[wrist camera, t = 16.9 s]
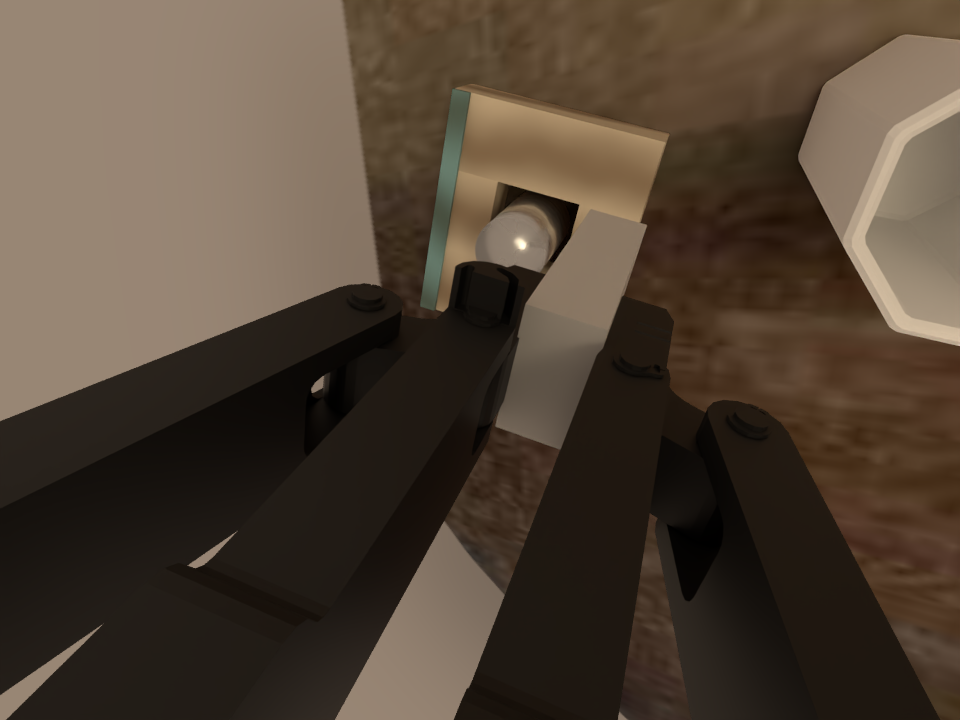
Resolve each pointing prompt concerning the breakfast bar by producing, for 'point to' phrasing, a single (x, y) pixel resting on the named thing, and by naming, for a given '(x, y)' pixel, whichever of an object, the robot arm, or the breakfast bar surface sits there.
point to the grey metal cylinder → (525, 232)
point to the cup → (896, 178)
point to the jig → (529, 170)
